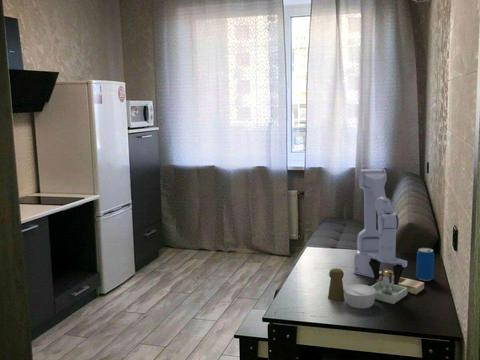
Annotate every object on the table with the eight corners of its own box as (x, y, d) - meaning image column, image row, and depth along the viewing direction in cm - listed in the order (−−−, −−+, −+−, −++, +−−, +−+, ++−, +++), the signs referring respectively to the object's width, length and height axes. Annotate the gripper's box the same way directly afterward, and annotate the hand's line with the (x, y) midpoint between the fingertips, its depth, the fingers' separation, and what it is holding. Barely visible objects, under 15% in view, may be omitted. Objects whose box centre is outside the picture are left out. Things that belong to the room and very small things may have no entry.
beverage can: (434, 282, 202) (435, 252, 200) (417, 281, 203) (418, 252, 201) (431, 276, 208) (433, 247, 206) (415, 275, 210) (416, 247, 208)
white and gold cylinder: (379, 293, 190) (379, 271, 189) (384, 290, 193) (384, 268, 192) (389, 296, 187) (390, 274, 186) (394, 293, 190) (394, 271, 189)
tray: (365, 296, 189) (365, 289, 189) (379, 287, 198) (379, 281, 197) (393, 304, 182) (393, 297, 182) (407, 294, 190) (407, 287, 190)
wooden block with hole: (376, 284, 201) (376, 278, 201) (384, 279, 206) (384, 273, 206) (416, 294, 190) (416, 287, 190) (423, 288, 196) (424, 282, 195)
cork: (334, 302, 185) (335, 273, 183) (324, 297, 190) (324, 268, 188) (348, 299, 187) (348, 270, 185) (337, 293, 193) (337, 265, 191)
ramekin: (341, 307, 180) (341, 293, 179) (346, 296, 191) (346, 282, 190) (373, 312, 176) (374, 297, 175) (377, 299, 186) (378, 286, 186)
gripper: (363, 245, 189) (363, 280, 191) (401, 252, 179) (400, 289, 181) (373, 240, 194) (372, 275, 196) (410, 247, 184) (409, 283, 186)
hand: (386, 281), depth 189 cm, fingers open, 7 cm apart
